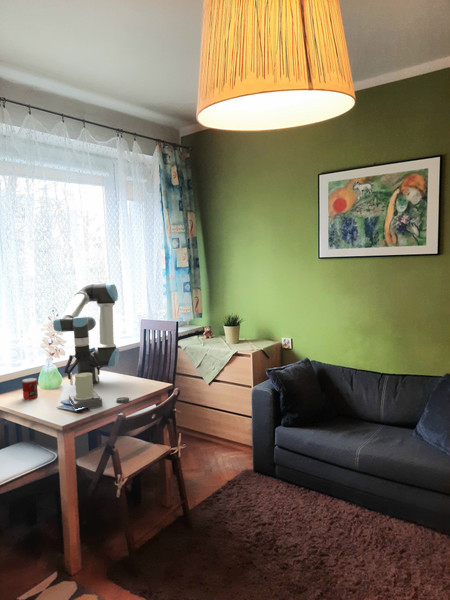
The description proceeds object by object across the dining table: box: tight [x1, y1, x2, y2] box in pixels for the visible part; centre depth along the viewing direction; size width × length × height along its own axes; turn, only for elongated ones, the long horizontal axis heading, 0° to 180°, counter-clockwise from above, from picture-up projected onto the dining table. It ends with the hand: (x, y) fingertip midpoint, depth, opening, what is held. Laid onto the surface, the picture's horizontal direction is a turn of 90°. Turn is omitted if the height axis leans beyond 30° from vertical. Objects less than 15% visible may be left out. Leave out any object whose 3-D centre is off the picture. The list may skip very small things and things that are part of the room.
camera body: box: [68, 389, 103, 410], centre depth 236 cm, size 18×14×5 cm
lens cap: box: [116, 396, 130, 404], centre depth 240 cm, size 7×7×2 cm
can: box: [74, 373, 94, 398], centre depth 235 cm, size 9×9×12 cm
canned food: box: [21, 377, 39, 401], centre depth 250 cm, size 8×8×11 cm
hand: (84, 382), depth 236 cm, fingers open, 13 cm apart
